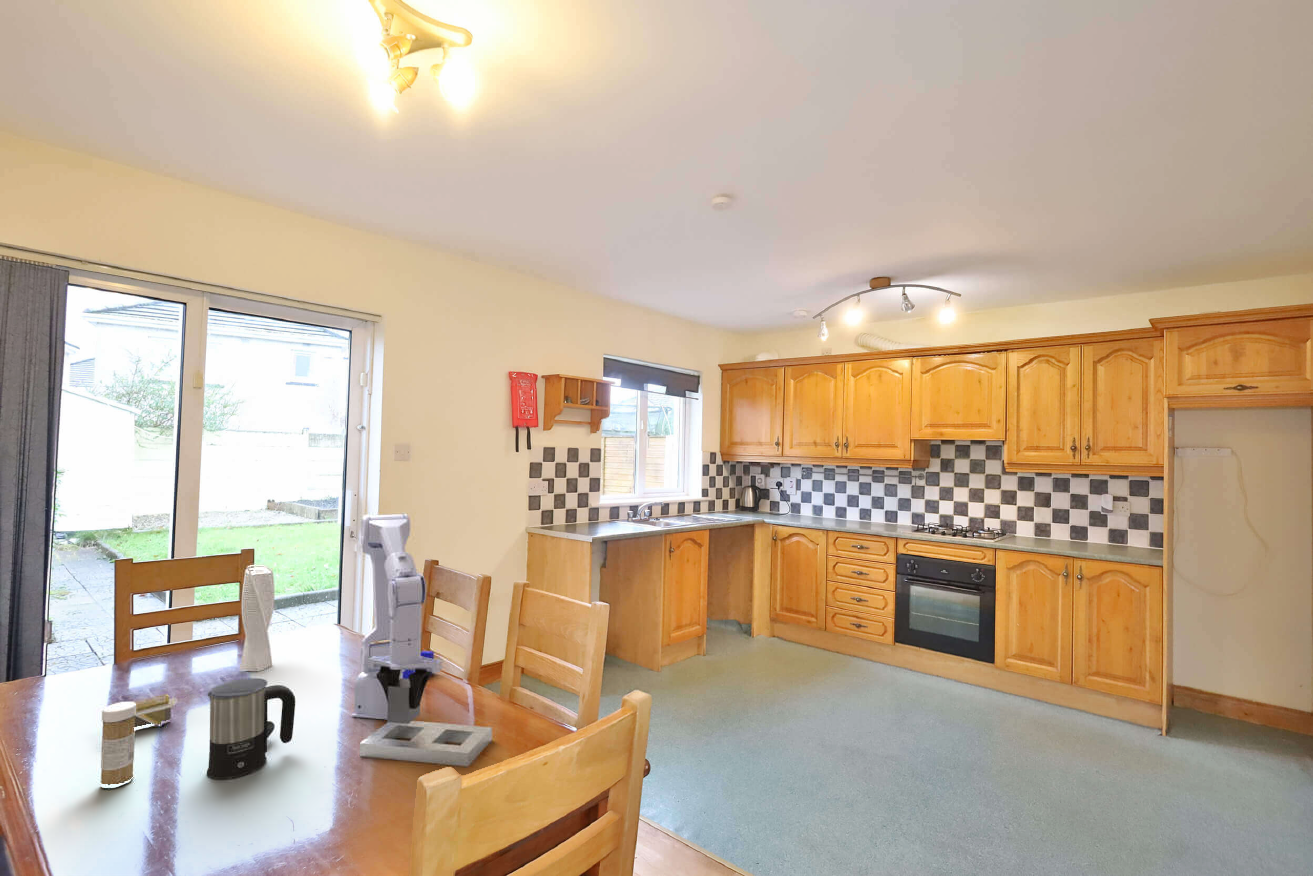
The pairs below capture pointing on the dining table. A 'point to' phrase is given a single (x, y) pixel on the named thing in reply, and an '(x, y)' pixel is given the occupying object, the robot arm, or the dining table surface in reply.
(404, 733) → the grey flat slab
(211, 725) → the milk frother
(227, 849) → the dining table surface
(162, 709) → the platform
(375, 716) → the robot arm
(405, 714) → the upright grey block
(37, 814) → the dining table surface
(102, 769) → the sprinkles bottle
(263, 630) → the skyscraper
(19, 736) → the dining table surface
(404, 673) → the cable clip
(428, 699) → the dining table surface
